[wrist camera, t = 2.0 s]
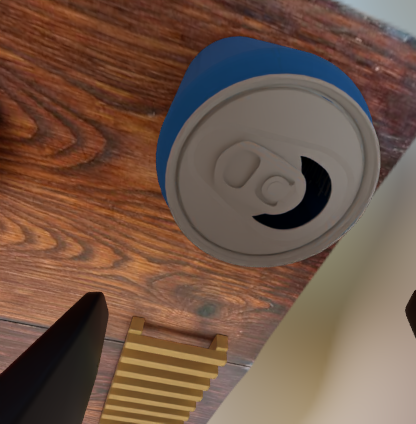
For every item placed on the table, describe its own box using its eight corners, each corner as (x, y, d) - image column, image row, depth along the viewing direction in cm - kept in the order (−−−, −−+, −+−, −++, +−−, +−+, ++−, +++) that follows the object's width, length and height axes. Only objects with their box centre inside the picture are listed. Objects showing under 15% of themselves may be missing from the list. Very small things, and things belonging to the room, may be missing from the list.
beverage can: (246, 164, 20) (287, 302, 10) (163, 115, 18) (111, 224, 8) (309, 77, 17) (455, 149, 7) (217, 9, 15) (238, -24, 5)
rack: (133, 315, 29) (127, 338, 27) (227, 336, 31) (229, 358, 28) (98, 421, 41) (93, 443, 39) (167, 431, 43) (165, 452, 41)
